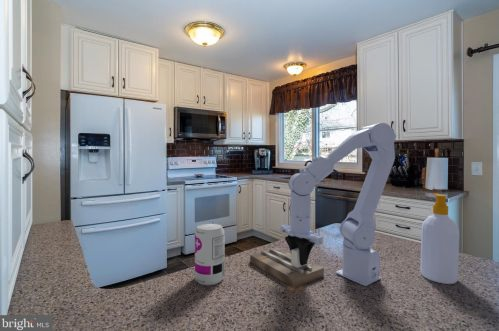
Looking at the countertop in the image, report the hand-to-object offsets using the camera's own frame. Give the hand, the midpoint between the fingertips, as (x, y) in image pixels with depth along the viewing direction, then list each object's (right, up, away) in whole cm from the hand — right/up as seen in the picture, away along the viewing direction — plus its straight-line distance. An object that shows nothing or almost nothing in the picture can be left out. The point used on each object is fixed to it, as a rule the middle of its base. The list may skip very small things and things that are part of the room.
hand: (299, 262), depth 74 cm
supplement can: (-26, -4, -2) cm, 26 cm away
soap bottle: (+40, -5, +1) cm, 40 cm away
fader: (0, -1, 0) cm, 1 cm away
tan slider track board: (-4, -4, +5) cm, 7 cm away
